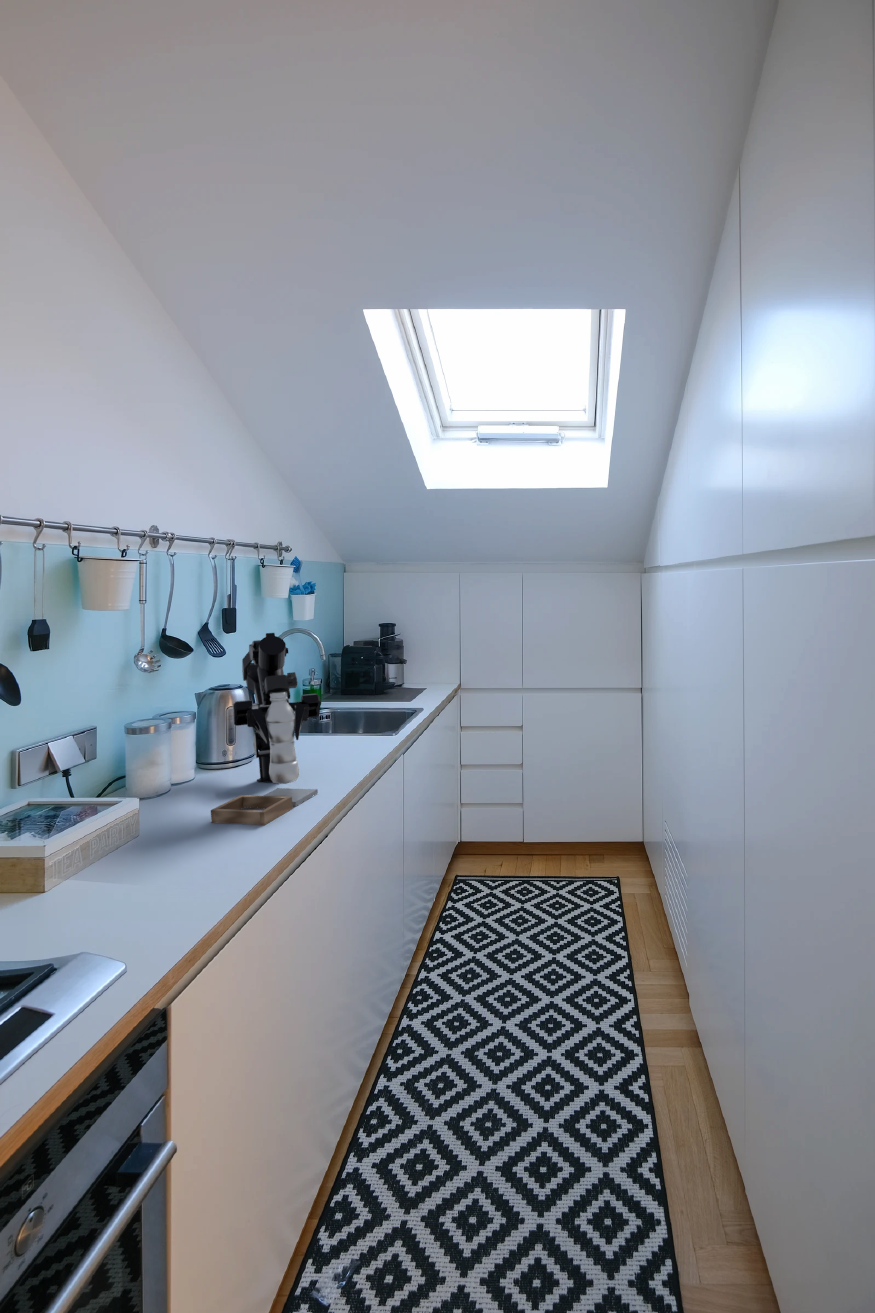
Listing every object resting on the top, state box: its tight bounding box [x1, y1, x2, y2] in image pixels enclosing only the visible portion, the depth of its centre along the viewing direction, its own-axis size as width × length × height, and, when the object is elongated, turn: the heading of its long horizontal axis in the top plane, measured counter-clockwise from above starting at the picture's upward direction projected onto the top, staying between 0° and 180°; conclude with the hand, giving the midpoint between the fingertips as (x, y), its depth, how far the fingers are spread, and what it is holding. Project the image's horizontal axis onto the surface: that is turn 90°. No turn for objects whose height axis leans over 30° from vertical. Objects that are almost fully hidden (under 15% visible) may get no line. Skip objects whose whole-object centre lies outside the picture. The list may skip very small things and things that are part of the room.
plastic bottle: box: [265, 691, 300, 785], centre depth 163 cm, size 6×7×20 cm
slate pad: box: [262, 787, 319, 807], centre depth 164 cm, size 10×10×1 cm
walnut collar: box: [210, 794, 294, 826], centre depth 153 cm, size 12×11×2 cm
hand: (282, 740), depth 161 cm, fingers closed on plastic bottle, 6 cm apart
